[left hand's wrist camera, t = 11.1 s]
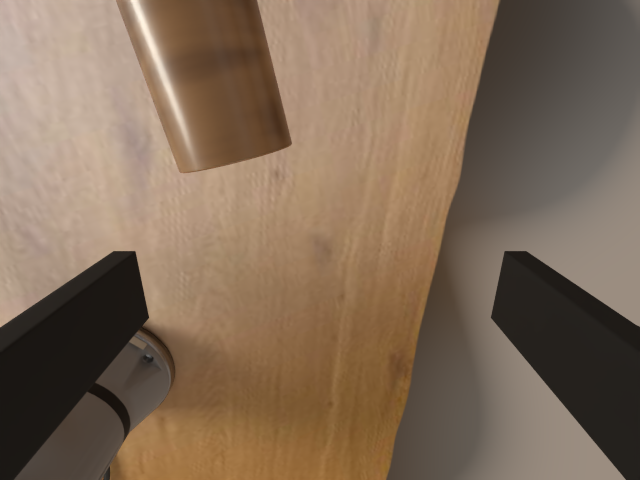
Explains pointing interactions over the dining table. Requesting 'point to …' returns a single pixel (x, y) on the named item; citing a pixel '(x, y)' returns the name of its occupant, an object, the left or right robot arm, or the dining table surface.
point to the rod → (208, 78)
